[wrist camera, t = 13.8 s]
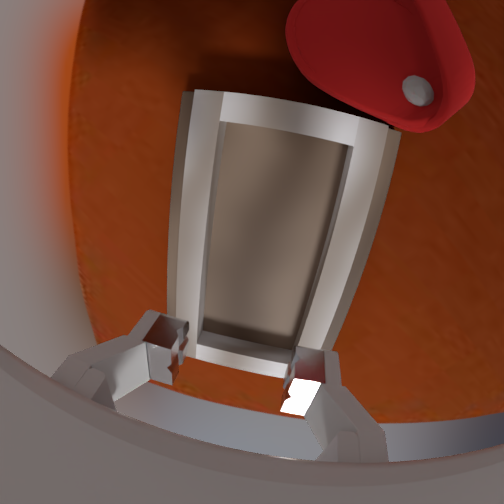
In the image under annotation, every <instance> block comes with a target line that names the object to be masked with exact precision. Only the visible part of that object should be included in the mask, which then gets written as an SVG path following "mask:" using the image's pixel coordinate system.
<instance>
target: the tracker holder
mask: <svg viewBox="0 0 504 504" xmlns="http://www.w3.org/2000/svg"><path fill="white" fill-rule="evenodd" d="M285 34H286V41H287V45H288V49H289V52H290V54H291V56H292V59H293V61H294V62H295V64H296V65H297V67H298V69H299V70H300V72H301V73H302V74H303V75H304V76H305V77H306V78H307V79H308V81H310V82H311V83H312V84H313V85H315V86H316V87H318V88H319V89H321V90H322V91H324V92H326V93H327V94H329V95H331V96H333V97H334V98H336V99H338V100H340V101H342V102H344V103H346V104H348V105H350V106H352V107H354V108H356V109H358V110H360V111H363V112H365V113H367V114H369V115H372V116H374V117H376V118H378V119H380V120H382V121H384V122H386V123H388V124H390V125H393V126H395V127H398V128H401V129H403V130H406V131H411V132H417V133H422V132H427V131H431V130H433V129H436V128H438V127H439V126H440V125H442V124H443V123H444V122H445V121H446V120H448V119H449V118H450V117H451V116H452V115H453V114H455V113H456V112H457V111H458V110H459V109H461V108H462V107H463V106H464V105H465V104H467V102H468V101H469V100H470V98H471V96H472V94H473V92H474V87H475V69H474V65H473V61H472V57H471V55H470V52H469V50H468V47H467V45H466V42H465V40H464V38H463V35H462V33H461V31H460V29H459V26H458V24H457V22H456V20H455V18H454V16H453V14H452V12H451V10H450V8H449V6H448V4H447V2H446V1H445V0H298V1H297V2H296V3H295V4H294V6H293V7H292V9H291V10H290V13H289V15H288V17H287V22H286V28H285Z"/></svg>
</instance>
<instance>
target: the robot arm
mask: <svg viewBox="0 0 504 504" xmlns="http://www.w3.org/2000/svg"><path fill="white" fill-rule="evenodd" d="M188 331H189V322H188V321H186V320H183V319H180V318H176V317H173V316H170V315H167V314H163V313H159V312H156V311H153V310H148V311H146V312H145V314H144V315H143V316H142V318H141V319H140V320H139V322H138V323H137V324H136V326H135V327H134V328H133V330H132V331H131V332H130V334H129V335H128V336H126V335H123V336H120V337H117V338H115V339H112V340H109V341H107V342H104V343H101V344H99V345H96V346H93V347H90V348H88V349H85V350H83V351H80V352H77V353H74V354H71V355H69V356H68V357H67V358H66V360H65V361H64V362H63V363H62V364H61V366H60V367H59V368H58V369H57V371H56V372H55V373H54V374H53V375H52V377H51V378H50V377H48V376H47V375H45V374H43V373H41V372H40V371H38V370H37V369H35V368H33V367H32V366H30V365H29V364H27V363H26V362H24V361H23V360H21V359H20V358H18V357H17V356H15V355H14V354H13V353H11V352H10V351H8V350H7V349H5V348H4V347H3V346H1V345H0V504H504V444H501V445H497V446H494V447H490V448H486V449H482V450H477V451H473V452H468V453H463V454H457V455H452V456H445V457H439V458H431V459H424V460H413V461H400V462H389V460H388V452H387V445H386V438H385V432H384V431H383V430H382V428H381V427H380V426H379V425H378V424H377V423H376V421H375V420H374V419H373V418H372V417H371V416H370V414H369V413H368V412H367V411H366V410H365V409H364V408H363V406H362V405H361V404H360V403H359V402H358V401H357V399H356V398H355V397H354V396H353V395H352V394H351V392H350V391H349V390H348V389H347V388H346V387H344V386H342V384H341V374H340V365H339V356H338V353H337V352H336V351H329V350H320V349H314V348H308V347H302V346H296V345H295V346H294V348H293V351H292V356H291V361H290V362H288V365H287V368H286V372H285V376H284V383H283V387H284V389H285V390H284V393H283V395H282V401H281V411H282V412H287V413H293V414H299V415H304V417H305V419H306V421H307V423H308V425H309V426H310V428H311V430H312V432H313V434H314V435H315V437H316V439H317V441H318V442H319V444H320V446H321V448H322V449H323V452H322V453H321V454H320V456H319V457H318V458H317V459H316V460H315V461H312V460H302V459H292V458H284V457H277V456H270V455H264V454H258V453H253V452H247V451H242V450H237V449H233V448H228V447H223V446H219V445H215V444H211V443H208V442H204V441H200V440H197V439H193V438H190V437H186V436H183V435H179V434H176V433H173V432H170V431H167V430H164V429H161V428H158V427H155V426H153V425H150V424H147V423H144V422H141V421H139V420H137V419H134V418H132V417H129V416H126V415H124V414H122V413H119V412H117V410H116V408H115V405H114V401H115V400H117V399H119V398H121V397H122V396H124V395H126V394H127V393H129V392H130V391H132V390H134V389H136V388H137V387H139V386H140V385H142V384H144V383H145V382H147V381H149V380H150V379H153V380H156V381H160V382H163V383H166V384H170V385H173V383H174V381H175V379H176V377H177V375H178V373H179V365H181V364H183V362H184V360H185V358H186V354H187V351H188V345H189V339H188V337H187V336H186V335H187V333H188Z"/></svg>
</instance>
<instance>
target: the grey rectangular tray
mask: <svg viewBox="0 0 504 504" xmlns="http://www.w3.org/2000/svg"><path fill="white" fill-rule="evenodd" d="M388 127H389V126H388V125H385V124H382V123H379V122H375V121H372V120H369V119H365V118H362V117H358V116H355V115H351V114H347V113H343V112H339V111H335V110H331V109H327V108H323V107H318V106H314V105H309V104H304V103H299V102H294V101H288V100H283V99H277V98H271V97H264V96H257V95H250V94H242V93H233V92H223V91H211V90H197V89H195V92H188V91H183V94H182V101H181V108H180V115H179V122H178V130H177V138H176V147H175V156H174V166H173V177H172V189H171V202H170V218H169V237H168V266H167V315H170V316H173V317H176V318H180V319H183V320H186V321H188V322H189V331H188V333H187V335H186V336H187V337H188V339H189V345H188V351H187V354H186V356H189V357H192V358H196V359H200V360H203V361H207V362H211V363H215V364H219V365H223V366H227V367H231V368H236V369H240V370H245V371H249V372H254V373H259V374H264V375H269V376H274V377H279V378H284V376H285V372H286V368H287V365H288V362H290V361H291V356H292V351H293V348H294V346H295V345H296V346H302V347H308V348H314V349H320V350H329V351H331V350H332V348H333V345H334V343H335V341H336V339H337V336H338V334H339V332H340V329H341V327H342V324H343V322H344V320H345V317H346V315H347V312H348V310H349V307H350V305H351V302H352V300H353V297H354V294H355V292H356V289H357V286H358V284H359V281H360V278H361V275H362V273H363V270H364V267H365V264H366V261H367V258H368V255H369V252H370V249H371V246H372V243H373V240H374V237H375V234H376V230H377V227H378V224H379V221H380V217H381V214H382V210H383V207H384V203H385V200H386V196H387V192H388V188H389V185H390V181H391V177H392V173H393V169H394V164H395V160H396V156H397V151H398V147H399V142H400V137H401V132H398V131H395V130H392V129H389V128H388Z"/></svg>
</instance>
